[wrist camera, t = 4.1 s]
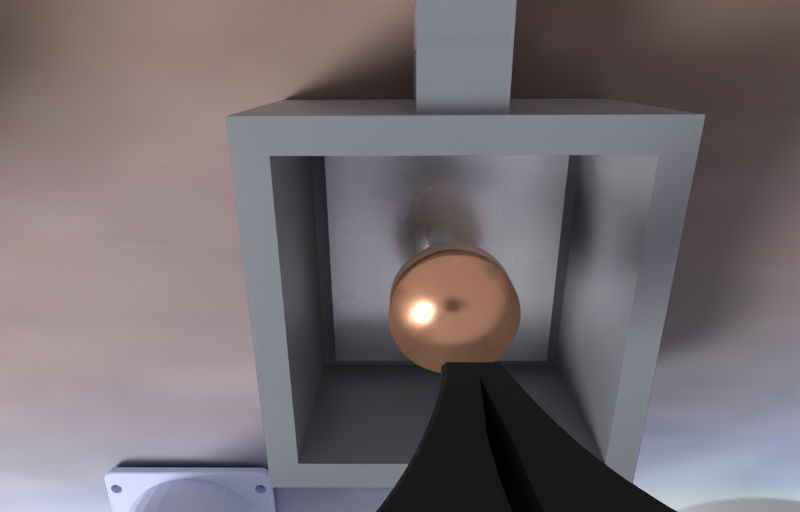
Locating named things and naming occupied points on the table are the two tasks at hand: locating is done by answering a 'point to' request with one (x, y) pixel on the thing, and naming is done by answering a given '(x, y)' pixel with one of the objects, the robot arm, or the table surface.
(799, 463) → the table surface
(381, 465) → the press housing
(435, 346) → the plunger
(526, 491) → the robot arm
